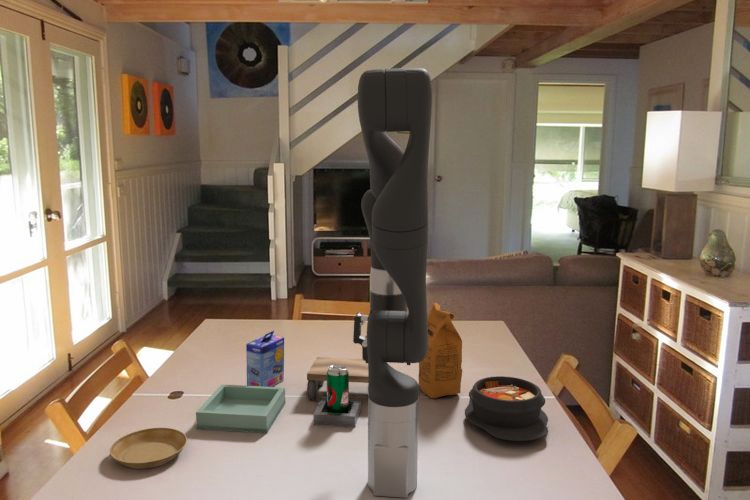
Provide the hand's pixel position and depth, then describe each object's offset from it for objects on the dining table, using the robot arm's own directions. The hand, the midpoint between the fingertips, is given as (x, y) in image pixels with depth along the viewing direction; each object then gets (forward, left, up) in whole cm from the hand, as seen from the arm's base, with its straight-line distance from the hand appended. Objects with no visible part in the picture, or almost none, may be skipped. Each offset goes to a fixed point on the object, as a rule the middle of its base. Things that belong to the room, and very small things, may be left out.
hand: (388, 363), depth 129 cm
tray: (+9, +35, -18) cm, 40 cm away
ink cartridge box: (+28, +35, -18) cm, 48 cm away
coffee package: (+30, -10, -18) cm, 37 cm away
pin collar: (+11, +13, -18) cm, 25 cm away
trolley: (+25, +13, -18) cm, 34 cm away
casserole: (+13, -26, -18) cm, 34 cm away
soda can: (+11, +13, -18) cm, 25 cm away
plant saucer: (-11, +48, -18) cm, 52 cm away
